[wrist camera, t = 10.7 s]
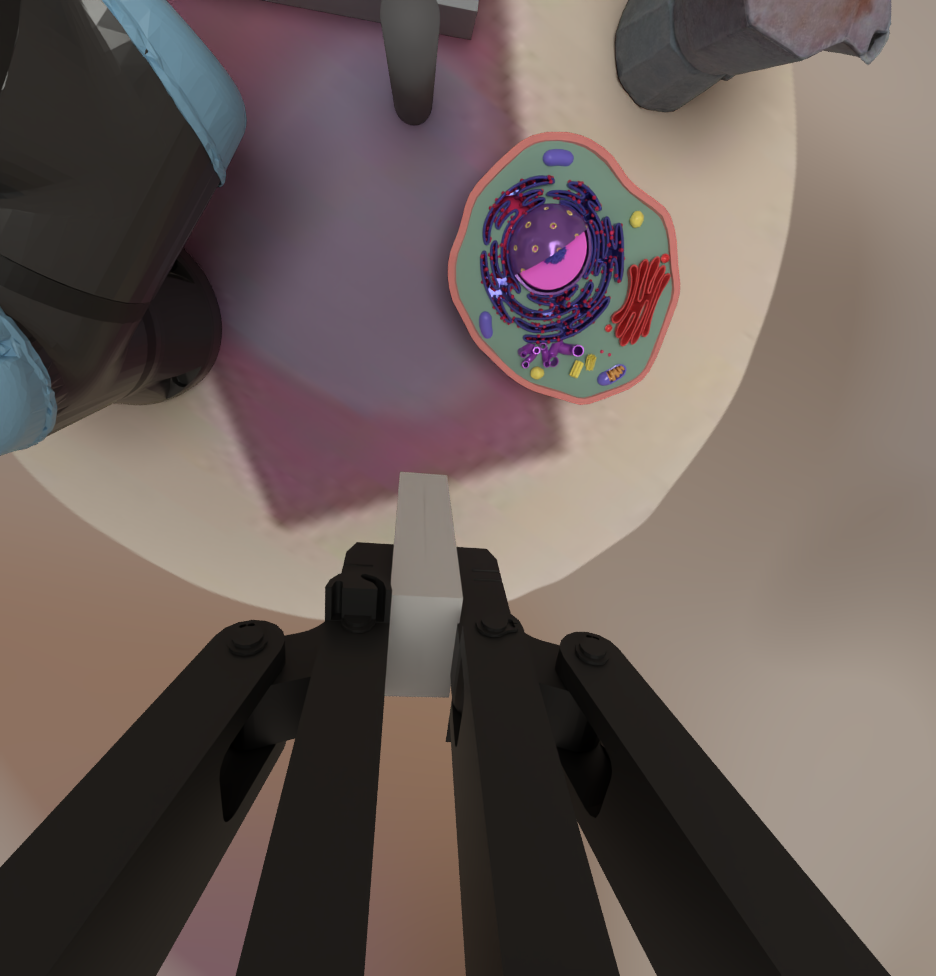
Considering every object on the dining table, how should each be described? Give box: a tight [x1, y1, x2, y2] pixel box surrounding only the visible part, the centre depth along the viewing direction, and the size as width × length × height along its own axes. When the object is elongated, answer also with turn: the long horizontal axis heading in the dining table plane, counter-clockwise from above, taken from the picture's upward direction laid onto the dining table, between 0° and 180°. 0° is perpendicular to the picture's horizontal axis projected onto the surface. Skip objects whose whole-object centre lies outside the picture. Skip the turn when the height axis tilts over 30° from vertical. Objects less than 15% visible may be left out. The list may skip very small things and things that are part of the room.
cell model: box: [448, 132, 680, 405], centre depth 42 cm, size 17×20×11 cm
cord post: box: [380, 0, 440, 125], centre depth 33 cm, size 3×3×16 cm
